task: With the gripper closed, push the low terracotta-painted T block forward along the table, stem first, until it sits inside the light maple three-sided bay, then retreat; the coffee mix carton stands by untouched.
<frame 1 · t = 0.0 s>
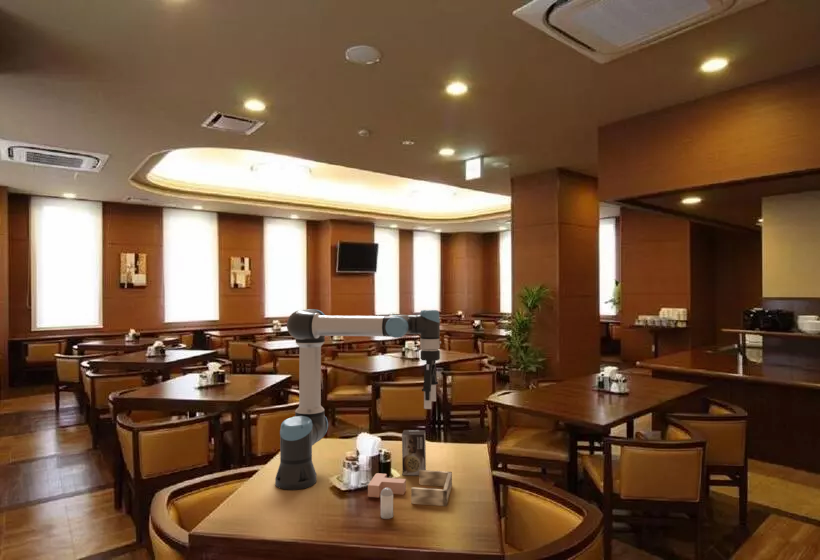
hand: (430, 404, 194), 28 cm above the table, fingers open, 13 cm apart
coffee box: (414, 473, 199), on the table
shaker: (386, 516, 160), on the table
bay: (438, 494, 177), on the table
t block: (388, 491, 181), on the table
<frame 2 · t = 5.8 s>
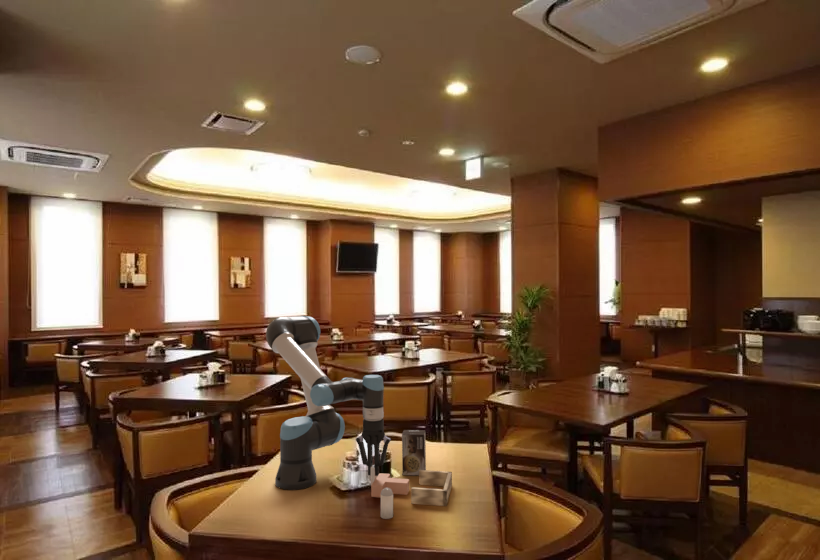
hand: (373, 484, 181), 2 cm above the table, fingers closed
t block: (391, 491, 180), on the table, touching gripper
everything else where it was.
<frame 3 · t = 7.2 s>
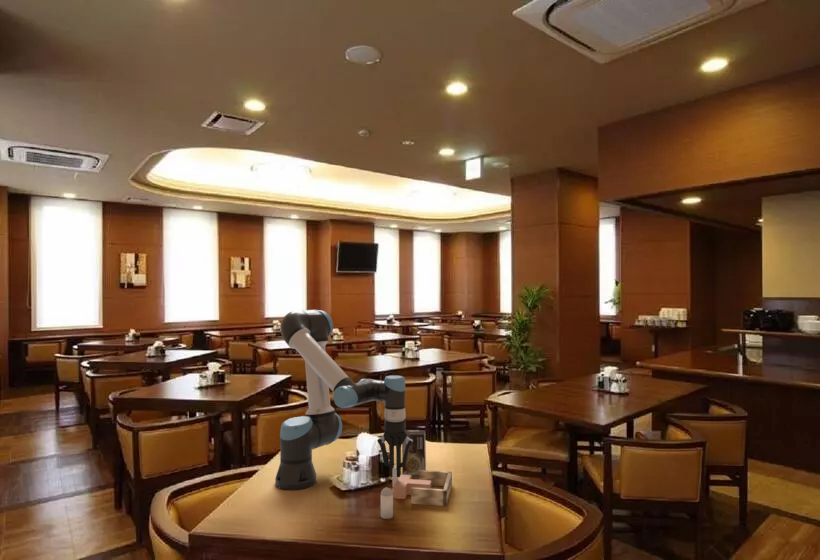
hand: (395, 485, 180), 2 cm above the table, fingers closed
t block: (413, 492, 179), on the table, touching gripper
everything else where it was.
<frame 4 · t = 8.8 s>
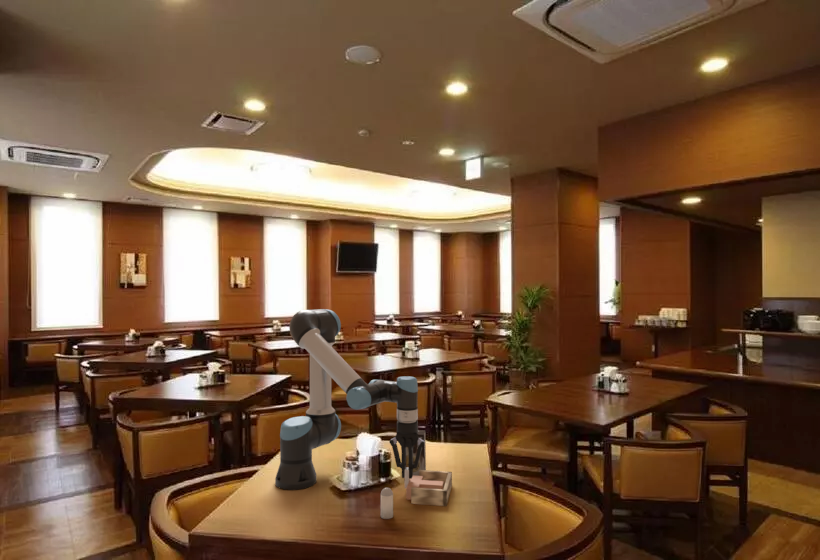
hand: (407, 487, 179), 2 cm above the table, fingers closed
t block: (426, 493, 178), on the table, touching gripper
everything else where it was.
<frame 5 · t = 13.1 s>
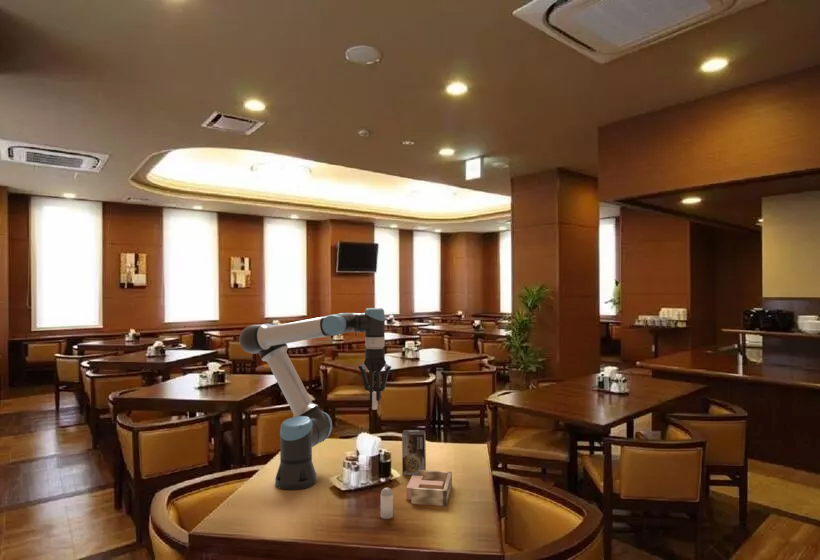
hand: (374, 408, 195), 26 cm above the table, fingers closed
t block: (426, 493, 178), on the table
everything else where it was.
at the end: t block inside the target area (0.6 cm from its centre), on the table; coffee box moved 0.2 cm from its start; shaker moved 0.0 cm from its start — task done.
